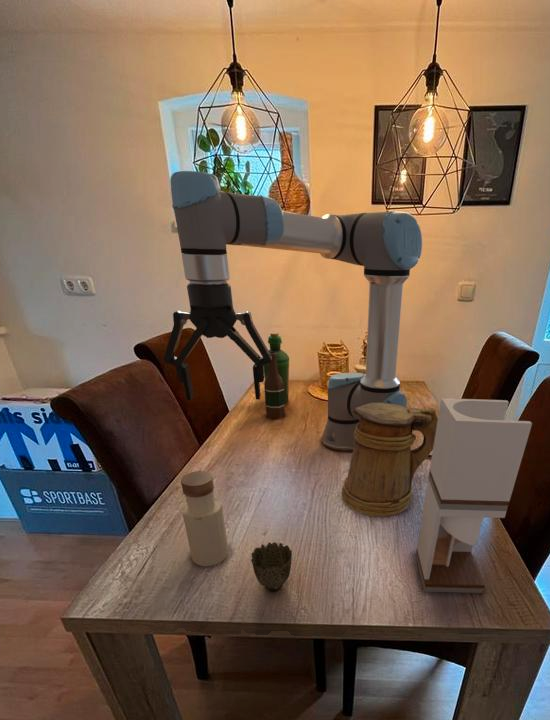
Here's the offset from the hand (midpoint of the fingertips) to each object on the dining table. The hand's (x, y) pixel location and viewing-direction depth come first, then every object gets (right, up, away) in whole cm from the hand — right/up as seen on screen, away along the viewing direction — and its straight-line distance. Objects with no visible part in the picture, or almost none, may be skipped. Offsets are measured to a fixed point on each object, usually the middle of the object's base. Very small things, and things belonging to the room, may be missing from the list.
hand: (224, 397), depth 81 cm
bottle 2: (-4, +17, +86) cm, 88 cm away
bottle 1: (-4, -33, +2) cm, 33 cm away
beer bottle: (-3, +9, +73) cm, 74 cm away
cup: (+11, -38, -5) cm, 40 cm away
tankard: (+35, -22, +24) cm, 48 cm away
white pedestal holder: (+46, -36, 0) cm, 58 cm away
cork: (-3, -22, -4) cm, 23 cm away
